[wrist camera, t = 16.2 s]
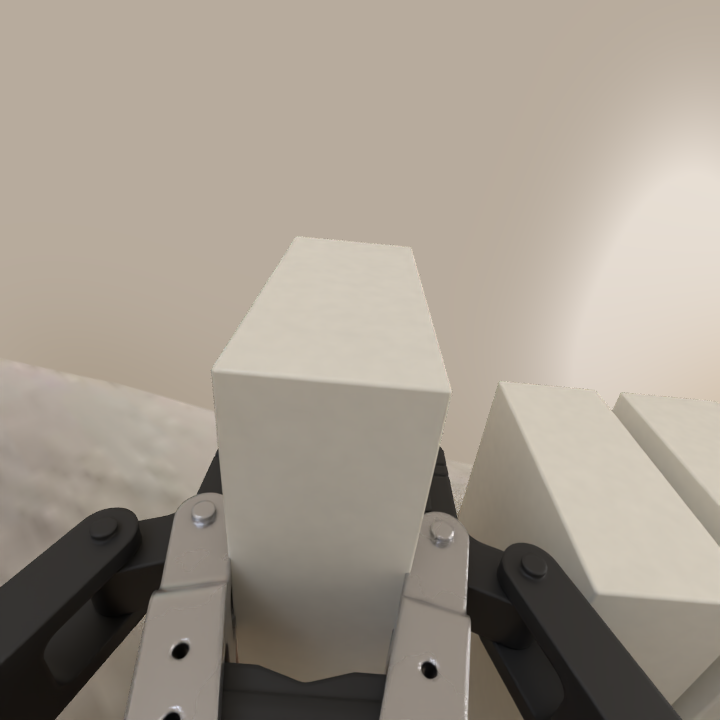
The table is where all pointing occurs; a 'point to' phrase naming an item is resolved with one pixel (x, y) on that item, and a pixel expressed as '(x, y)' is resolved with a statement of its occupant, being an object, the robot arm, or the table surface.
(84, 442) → the table surface
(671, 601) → the cream rectangular block
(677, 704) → the white book
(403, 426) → the upright ivory block
